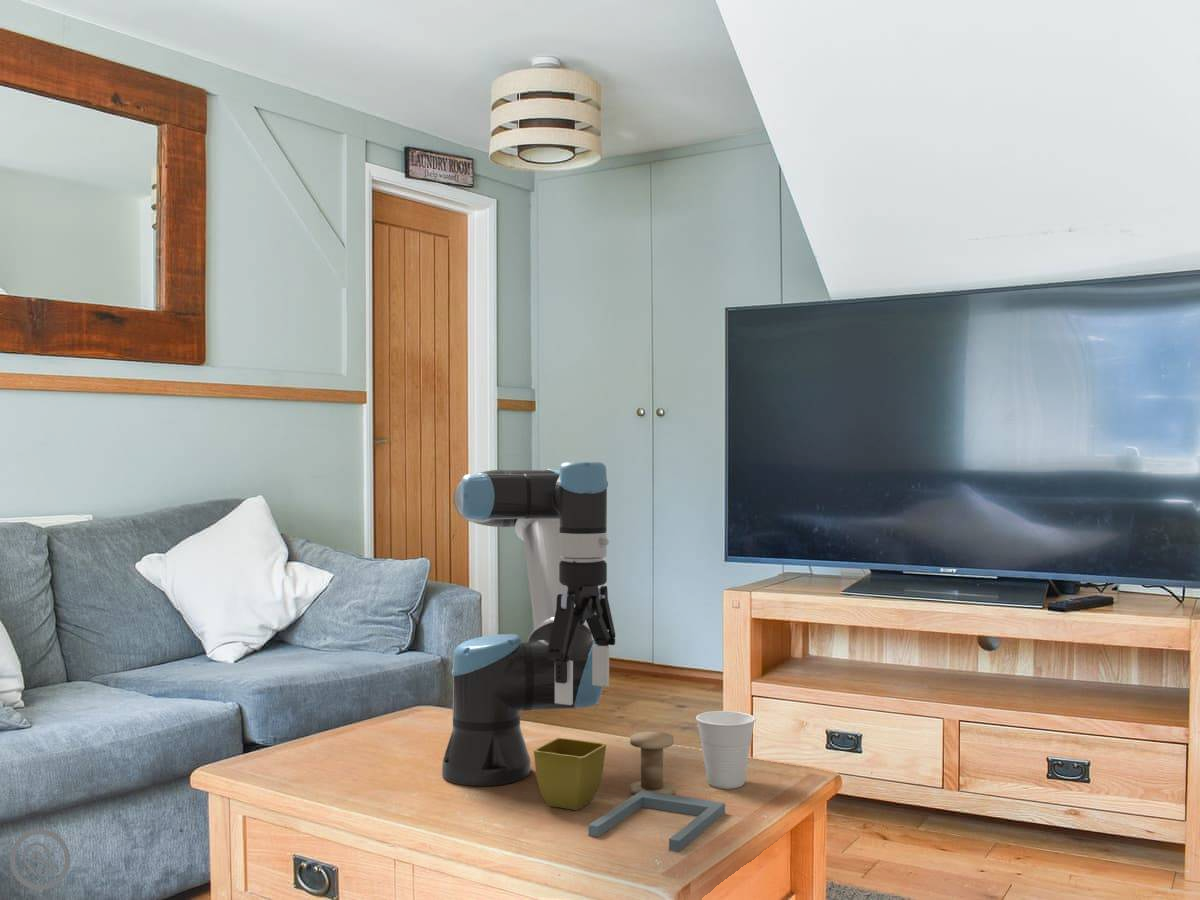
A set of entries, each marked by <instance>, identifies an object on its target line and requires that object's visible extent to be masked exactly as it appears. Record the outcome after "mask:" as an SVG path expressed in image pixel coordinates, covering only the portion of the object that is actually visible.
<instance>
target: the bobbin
mask: <svg viewBox="0 0 1200 900" xmlns="http://www.w3.org/2000/svg"><path fill="white" fill-rule="evenodd" d="M629 737H630V738H629V740H630V741H629V743H630V745H631V746H633V747H635V748H639V749H640V781H635V782H633V783H631V785H629V786H630V795H631V797H632V796H634V795H635V794H637V793H638V792H640V791H641V790H643V791H649V792H656V793H662V794H669V795H674V793H675V791H674V789H675V787H674V785H673V783H670V782H667V781H664V749H666V748H670V747H672V746H673V745H674V735H672V734H670V733H667V732H661V731H641V732H636V733H633V734H631V735H630V736H629Z"/></svg>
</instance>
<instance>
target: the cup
mask: <svg viewBox="0 0 1200 900" xmlns="http://www.w3.org/2000/svg"><path fill="white" fill-rule="evenodd" d="M695 719H696V722H697V725H698V733H699V738H700V739H699V740H700V742H701V748H702V749H701V750H702V755H703V761H704V766H705V767H704V768H705V775H706V780H707V783H708V784H709V785H710V786H711V787H713V788H717V789H725V790H730V789H731V790H732V789H737V788H741V787H742V786H743V785H744V784H745V783H746V777H747V768H748V763H749V756H750V755H749V754H750V750H751V749H750V748H751V744H752V737H753V730H754V724H755V722H756V717H755V716H753V715H752V714H749V713H746V712H741V711H733V710H713V711H705V712H702V713H698V714H697V715H696V717H695Z"/></svg>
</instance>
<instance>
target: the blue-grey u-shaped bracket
mask: <svg viewBox="0 0 1200 900" xmlns="http://www.w3.org/2000/svg"><path fill="white" fill-rule="evenodd" d="M641 808H649V809H654V810H661V811H665V812H667V811H668V812H672V813H673V812H674V813H679V814H686V815H691V816H692V815H693V816H696V817H695V818H693V819H692V820H691V821H690V822H688V823H687V824H686V825H684V826H683V827H682V828H681V829H680V830H678V831H677V832H676V833H675V834H673V835H672V836H671V837H670V838H668V850H669V851H673V852H678V853H680V851H682V850H683V849H684V848H685V847H687V846H688V845H690V843H692V842H693V841H694V840H695V839H696V838H697V837H699V836H700V835H701V834H702V833H704V831H706V830H707V829H708V828H710V827H711V826H712V825H713V824H714V823H715V822H716V821H718V820H719V819H720V818H722V816H723V815H724V814H726V802H721V801H715V800H714V801H713V800H708V799H707V800H706V799H700V798H695V797H690V796H689V797H688V796H687V797H686V796H682V795H676V794H675V795H674V794H673V795H669V794H662V793H656V792H649V791H643V790H641V791H640V792H638V793H637V794H635V795H634V796H632V795H631V797H629V798H627V799H626V800H624V801H623V802H621V803H620V804H618V805H616V806H615V807H614V808H612V809H611V810H609V811H608V812H606V813H604V814H603V815H602V816H600V817H599V818H596V820H594V821H592V822H590V823H589V824H588V833H587V834H588V836H587V837H589V836H590V837H595V838H599V837H601V836H602V835H603V834H605V833H606V832H607V831H609V830H610V829H612V828H613V827H615V826H617V825H618V824H620V823H621V822H623V821H624V820H625V819H626V818H628V817H629V816H631V815H632V814H634V813H635V812H636V811H638V810H640V809H641Z"/></svg>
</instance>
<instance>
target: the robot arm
mask: <svg viewBox="0 0 1200 900" xmlns="http://www.w3.org/2000/svg"><path fill="white" fill-rule="evenodd" d="M608 486H609V481H608V479H607V467H606V465H605V464H604V463H603V462H600V461H597V462H595V461H591V462H590V461H574V462H573V461H567V462H565V461H564V462H563V463H561V464H560V467H559V469H558V470H557V469H551V468H546V469H544V470H543V469H542V470H541V469H539V470H537V469H535V470H532V469H531V470H530V469H529V470H528V469H527V470H526V469H525V470H523V469H519V470H517V469H516V470H515V469H492V470H491V469H490V470H486V471H481V472H477V473H468V474H465V475H464V476H463V477H462V479H461V481H459V483H458V484H457V486H456V487H455V489H454V492H453V505H454V507H455V509H456V512H457V514H459V515H460V516H461V517H462V519H464V520H466V521H468V522H471V523H474V524H476V525H477V524H478V525H481V526H485V527H495V528H496V527H497V528H514V531H515V535H516V536H517V538H519V539H520V540H521V541H523V542H524V551H525V560H526V568H527V569H526V570H527V577H528V583H529V584H528V585H529V592H530V600H531V607H532V618H533V624H534V630H532V632H531V633H530V634H529V636H528V638H527V642H522V639H521V638H520V636H519V635H518V634H515V633H503V634H502V633H500V634H491V635H485V636H480V637H476V638H475V637H474V638H472V639H471V638H470V639H468V640H466V641H463V642H461V643H460V644H458V645H457V646H456V647H455V649H454V651H453V655H452V657H453V658H452V659H453V660H452V670H451V676H452V731H451V733H450V737H449V740H448V743H447V745H446V748H445V749H446V750H445V753H444V757H443V759H442V764H441V765H442V766H441V767H442V772H441V774H442V777H443V778H444V780H446V781H448V782H451V783H453V784H454V783H455V784H457V785H458V784H459V785H464V786H477V787H480V786H481V787H482V786H483V787H486V786H487V787H488V786H498V785H505V784H510V783H515V782H518V781H522V780H523V779H525V778H527V777H528V776H529V775H530V774H531V758H530V755H529V752H528V748H527V746H526V745H527V744H526V742H525V738H524V735H523V732H522V730H521V712H523V711H525V712H526V711H544V710H545V711H546V710H563V709H564V710H565V709H566V710H567V709H573V710H577V709H581V708H591V707H594V706H596V705H597V704H598V702H600V700H601V696H602V693H603V689H604V687H609V686H610V646H615V645H616V629H615V625H614V621H613V616H612V613H611V607H610V602H609V598H608V586H607V585H605V584H607V581H608V580H607V579H608V572H607V571H608V568H607V567H608V563H607V561H606V560H604V558H606V557H607V546H608V545H609V542H610V541H609V539H607V528H608V526H607V523H608V522H607V521H608V520H607V519H608V518H607V515H608V513H607V509H608V507H607V506H608V505H607V499H608V498H607V496H608V493H607V492H608ZM585 622H586V624H585Z"/></svg>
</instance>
